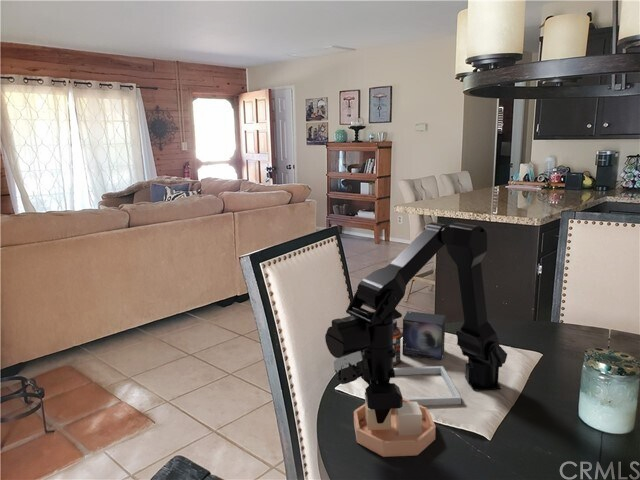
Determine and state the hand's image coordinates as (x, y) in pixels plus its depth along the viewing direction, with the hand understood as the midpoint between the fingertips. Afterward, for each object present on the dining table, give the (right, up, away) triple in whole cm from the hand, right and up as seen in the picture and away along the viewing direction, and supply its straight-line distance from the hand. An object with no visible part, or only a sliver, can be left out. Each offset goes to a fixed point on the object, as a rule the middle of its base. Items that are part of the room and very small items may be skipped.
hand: (378, 415), depth 94 cm
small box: (+16, +4, +34) cm, 38 cm away
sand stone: (0, -2, 0) cm, 2 cm away
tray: (+10, 0, +16) cm, 19 cm away
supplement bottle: (+7, +3, +30) cm, 31 cm away
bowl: (+3, -3, +1) cm, 5 cm away
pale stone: (+6, -3, +1) cm, 7 cm away
